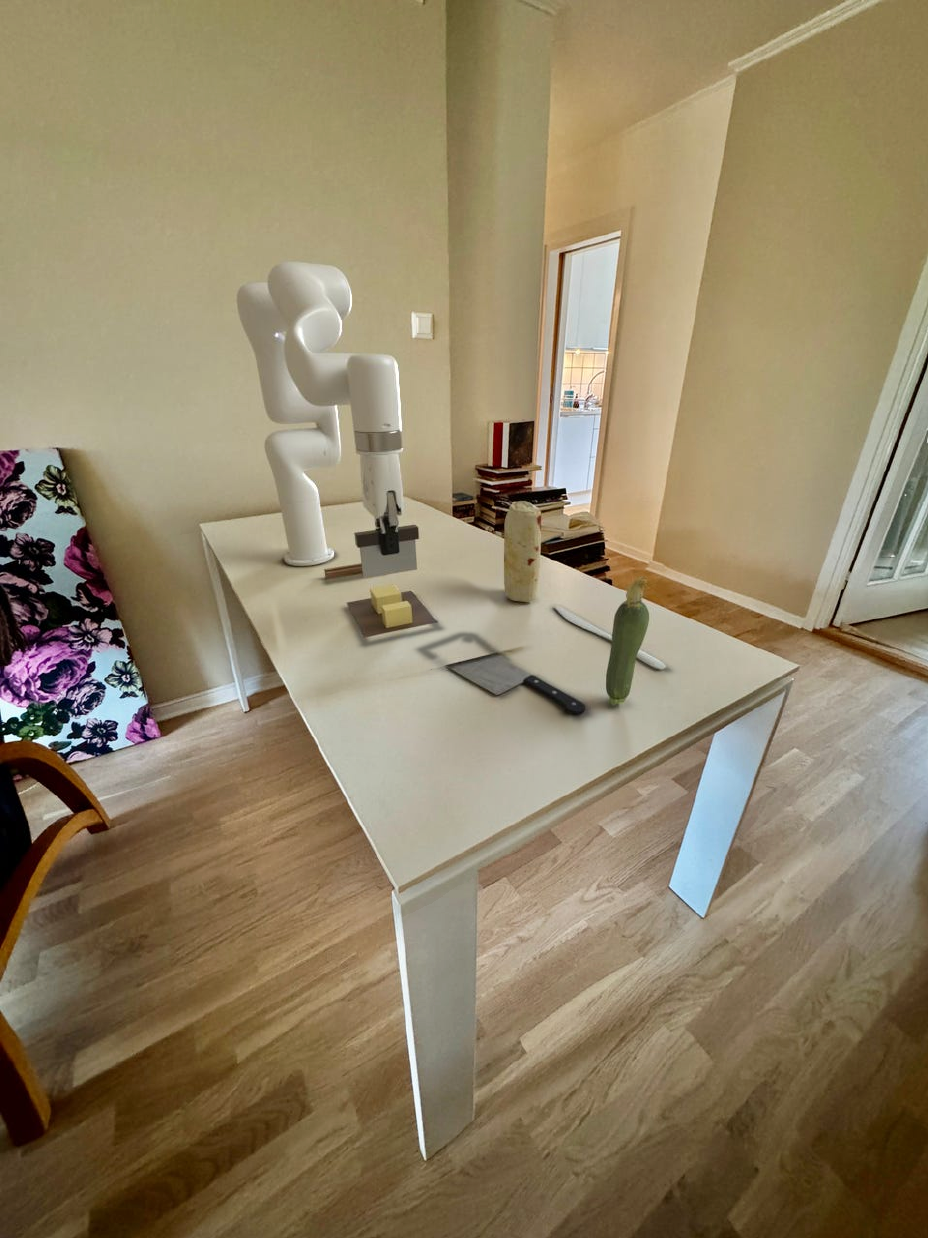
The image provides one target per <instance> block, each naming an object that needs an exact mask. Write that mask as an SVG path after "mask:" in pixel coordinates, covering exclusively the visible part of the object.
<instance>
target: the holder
mask: <svg viewBox="0 0 928 1238" xmlns="http://www.w3.org/2000/svg"><path fill="white" fill-rule="evenodd" d="M323 571H324V577H325V580H331V579H337V578H341V577H349V576H355V575H361V574H362V575H363V572H362V564H361V562H360V563H354V564H348V565H342V566H336V567H329V568H324V569H323Z"/></svg>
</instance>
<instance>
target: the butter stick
mask: <svg viewBox="0 0 928 1238" xmlns="http://www.w3.org/2000/svg"><path fill="white" fill-rule="evenodd" d="M369 592H370V598H371V602H372V605H373V607H374V608H375V610H376V612H377V613H378V614H380V613H382V608H381V606H383V605H388V604H393V603H398V602H402V599H401V591H400V590H399V589H398V587H397V586H396V585H395V584H394V583H393V584H386V585H382V586H376V587H371V588H369Z"/></svg>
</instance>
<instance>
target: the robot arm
mask: <svg viewBox="0 0 928 1238" xmlns="http://www.w3.org/2000/svg"><path fill="white" fill-rule="evenodd" d="M352 296H353V295H352V290H351V286H350V283H349V281H348V278H347V277H346V275H345V274H344V273H343V271H342V270H340V269H339V268H338V267H336V266H334V265H330V264H323V263H312V262H303V261H282V262H280V263H277V264H276V265H274V266H273V267H272V268H271V269H270V271H269V273H268V276H267V281H257V282H256V281H254V282H249V283H245V284H243V285H241V286H240V287H239V289H238V291H237V293H236V305H237V313H238V316H239V320H240V323H241V325H242V326H241V327H242V328H243V330H244V333H245V335H246V337H247V339H248V341H249V344H250V345H251V349H252V350H253V353H254V357H255V362H256V366H257V371H258V378H259V383H260V389H261V394H262V401H263V405H264V409H265V413H266V416H267V417H268V419H269V420H270V421H271V422H273V423H276V424H280V425H291V424H306V423H308V424H309V423H315V427H308V428H306V427H305V428H292V429H290V428H289V429H281V430H277V431H274V432H271V433H270V434H268V435H267V436H266V438H265V440H264V452H265V455H266V458H267V462H268V464H269V466H270V469H271V472H272V475H273V479H274V483H275V488H276V492H277V497H278V501H279V507H280V512H281V516H282V522H283V527H284V532H285V537H286V542H287V547H288V548H287V549H288V551H287V552H286V553H285V554H284V556H283V558H284V559H283V560H284V562H285V563H286V564H288V565H290V566H295V567H307V566H308V567H310V566H315V565H320V564H323V563H327V562H329V561H331V560H332V559H333V558H334V556H335V551H334V550H333V548H331V547H328V546H327V540H326V533H325V527H324V521H323V514H322V507H321V501H320V495H319V490H318V488H317V486H316V484H315V482H313V481H312V480H311V479H310V478H309V477H308V476H307V475H306V473H305V472H309V471H314V470H322V469H323V470H324V469H329V468H335V467H336V466H338V465H339V463H340V462H341V459H342V445H341V435H340V424H339V415H338V406H350V411H351V421H352V428H353V429H352V430H353V438H354V447H355V453H356V454H357V455H359V460H360V461H359V463H360V465H359V466H360V467H359V468H360V481H361V497H362V505H363V507H364V508H365V509H366V511H367V512H368V513H369V514H370V515H371V516H372V517H373V518H374V527H375V529H374V530H379V529H381V533H379V537H380V547H381V554H382V555H383V556H385V555H392V554H398V553H399V552H400V550H399V537H398V527H399V525H400V523H399V521H400V520H399V517H398V516H400V517H401V516H402V515H403V514H404V508H405V507H404V505H405V504H404V489H403V480H402V472H401V471H402V470H401V465H400V464H401V463H400V458H399V457H400V456H399V454H400V453H403V452H404V441H403V430H402V427H403V426H402V412H401V411H402V410H401V397H400V384H399V383H400V382H399V369H398V362H397V360H396V358H395V357H394V356H392V355H390V354H386V353H364V352H363V353H360V352H358V353H357V352H355V353H354V352H353V353H352V352H351V353H350V352H328V351H329V350H331V349H332V348H333V347H334V346H336V344H337V343H338V342H339V339H340V338H341V334H342V330H343V329H342V328H343V327H342V326H343V325H342V324H343V323H342V322H343V321H345V320H346V318H347V317H348V316H349V314H350V312H351V309H352V304H353V297H352ZM283 334H285V336H284V335H283Z"/></svg>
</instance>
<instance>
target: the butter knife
mask: <svg viewBox="0 0 928 1238" xmlns="http://www.w3.org/2000/svg"><path fill="white" fill-rule="evenodd" d="M554 609H555V610H556V611H557V612H558V613H559V614H560V615H561V616H562V617H563V618H564V619H565V620H567V621H569V622H570V623H572V624H574V625H576V626H578V627H580V628H582V629H584V630H587V631H589V632H591V633H593V634H596V635H599V636H600V637H603V638H605V639H606V640H609V641H610V642H612V634H609V633H607V632H606V631H604V630H602V629H600V628H598V627H597V626H595V625H594V624H592V623H591V622H588V621H586V620H585V619H583V618H581V617H580V616H578V615H576V614H575V613H572V612H571V611H568V610H567V609H565V608H563V606H560V605H555V606H554ZM636 659H639V660H640V661H641V662H643V663H645V664H646V665H649V666H651V667H652V668H654V669H658V670H664V669H666V668H667V665H666V664H665V663H664V662H663V661H661V660H659V659H658V658H657V657H654V656H652V655H651V654H649V653H647V652H645V651H643V650H641V649H639V651H638V654H637V657H636Z"/></svg>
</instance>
